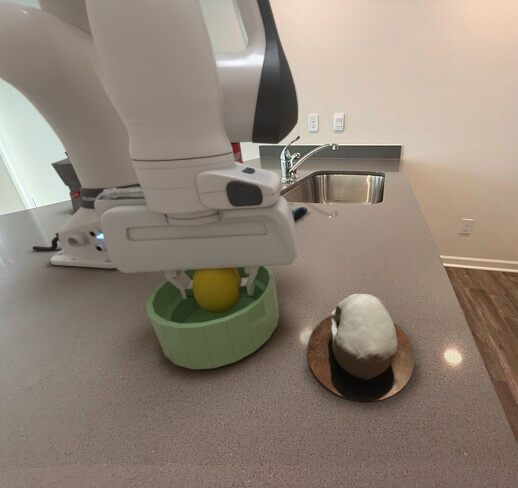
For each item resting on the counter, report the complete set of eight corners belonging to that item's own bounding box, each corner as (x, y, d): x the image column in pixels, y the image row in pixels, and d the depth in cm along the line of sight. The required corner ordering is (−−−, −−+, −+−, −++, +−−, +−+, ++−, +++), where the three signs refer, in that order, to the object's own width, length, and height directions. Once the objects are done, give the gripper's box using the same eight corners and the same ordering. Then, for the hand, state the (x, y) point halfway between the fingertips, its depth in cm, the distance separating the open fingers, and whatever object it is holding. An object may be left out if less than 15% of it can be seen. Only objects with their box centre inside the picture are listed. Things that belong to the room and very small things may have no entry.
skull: (299, 311, 34) (351, 258, 32) (355, 347, 38) (407, 302, 35) (294, 395, 24) (373, 326, 21) (373, 436, 27) (451, 380, 24)
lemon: (233, 329, 30) (219, 272, 27) (192, 324, 31) (173, 268, 28) (253, 300, 35) (244, 248, 32) (217, 296, 36) (204, 246, 33)
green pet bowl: (137, 376, 27) (114, 330, 25) (193, 295, 40) (182, 259, 37) (271, 369, 28) (263, 323, 25) (284, 291, 41) (280, 255, 38)
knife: (242, 255, 49) (240, 232, 48) (230, 252, 51) (227, 230, 49) (315, 219, 75) (315, 204, 74) (306, 218, 76) (306, 203, 75)
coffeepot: (69, 209, 84) (42, 151, 76) (105, 202, 91) (82, 148, 83) (80, 219, 75) (51, 154, 67) (119, 210, 82) (95, 150, 74)
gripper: (60, 197, 23) (119, 316, 29) (289, 187, 24) (300, 306, 30) (110, 181, 29) (150, 284, 35) (293, 174, 29) (301, 276, 35)
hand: (220, 294), depth 32 cm, fingers closed on lemon, 5 cm apart
